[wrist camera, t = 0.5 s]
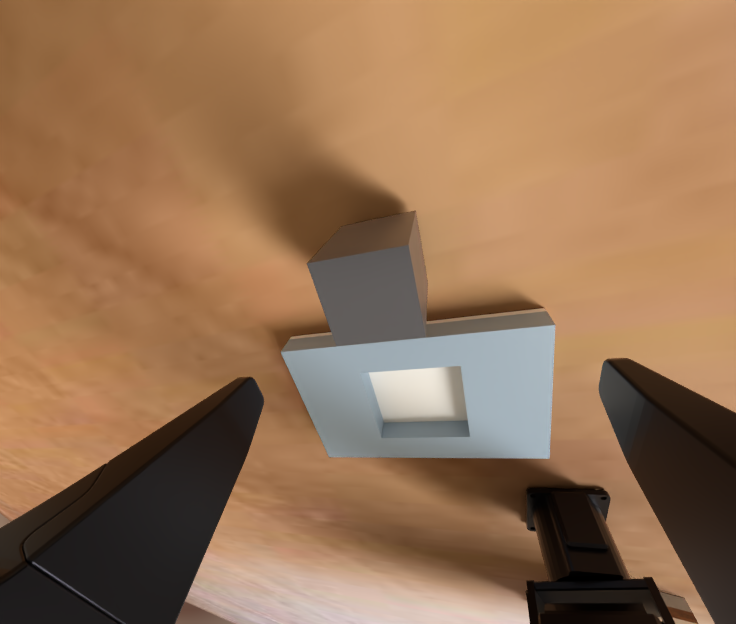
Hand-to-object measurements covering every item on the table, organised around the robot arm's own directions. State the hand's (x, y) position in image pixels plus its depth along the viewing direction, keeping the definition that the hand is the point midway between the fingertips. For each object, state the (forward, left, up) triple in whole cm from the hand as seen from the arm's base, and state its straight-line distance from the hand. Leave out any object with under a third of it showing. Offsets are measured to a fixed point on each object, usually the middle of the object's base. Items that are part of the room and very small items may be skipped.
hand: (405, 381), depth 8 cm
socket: (-12, +2, -12) cm, 17 cm away
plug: (0, +2, -12) cm, 13 cm away
